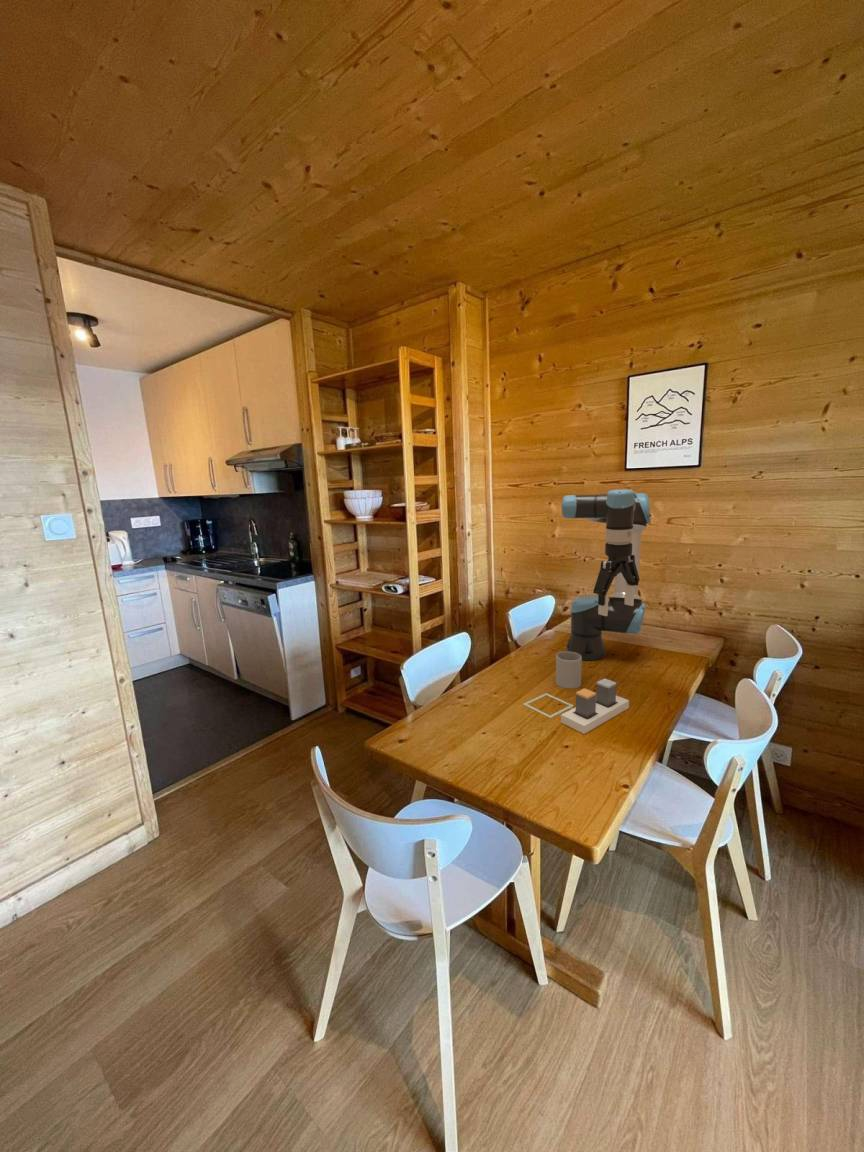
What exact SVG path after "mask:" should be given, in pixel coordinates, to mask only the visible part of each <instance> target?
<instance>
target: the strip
mask: <svg viewBox="0 0 864 1152" xmlns="http://www.w3.org/2000/svg"><path fill="white" fill-rule="evenodd" d="M629 708H630V699H629V700H628V699H626V698H624V697H622V696H620V695H619V696H618V695H617V694H616V704H615V705H613V706H611V707H609V708H607V707H605V706H602V705H600V704H598V703H596V715H595V716H593V717H592V718H590V719H588V720H587V719H585V718H583V717H581V716H578V715H576V714H575V710H576V706H575V707H574V708H573V707H572V708H570V710H569V709H568V710H566V712H565V711H564V712H562V713H561V714H560V723H561V724H563V725H564V726H566V727H569V728H571V729H573V730H575V731H577V732H579V733H581V734H583V735H585V734H587V733H589V732H590V731H592V730H594V729H596V728H597V727H600V726H601V725H602V724H605V723H606V722H607V721H610V720H611V719H612V718H614V717H616V716H618V715H620V714H622V713H623V712H625V711H626V710H629Z"/></svg>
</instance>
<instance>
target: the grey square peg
mask: <svg viewBox="0 0 864 1152" xmlns="http://www.w3.org/2000/svg"><path fill="white" fill-rule="evenodd" d="M595 690H596V692H595V693H596V703H598V704H600V705H602V706H605V707H607V708H609V707H611V706H613V705H615V704H616V695H617V682H615V681H613V680H611V679H608V678H606V677H604V678H603V679H600V680H598V681H596V689H595Z"/></svg>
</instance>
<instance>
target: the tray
mask: <svg viewBox="0 0 864 1152" xmlns="http://www.w3.org/2000/svg"><path fill="white" fill-rule="evenodd" d="M546 696H547V697H549V698H552V699H553V700H556V701H558V702H560V703H562V704H565V705H567V706H566V707H564V708H562V709H560V710H558V711H557V712H554V713H553V714H551V715H549V714H548V713H546V712H544V711H542V710H539V709H538V708H535V707H534V706H531V705H530V704H532V703H533V702H535V701H538V700H540V699H542V698H544V697H546ZM522 705H523V706H525V707H527V708H529V709H531V710H533V711H534V712H536V713H539V714H541V715H543V716H545V717H547V718H548V719H552V718H554V717H556V716H558V715H561V714H563V713H565V711H566V712H567V711H569V709H570V710H571V709H573V707H574V705H573V704H572V703H569V702H567V701H564V700H562V699H561V698H558V697H556V696H554V695H551V694H549V693H546V692H545V693H543V694H541V695H540V696H537V697H535V698H532V699H531V700H529V701H527V702H525V703H523V704H522Z"/></svg>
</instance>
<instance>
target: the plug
mask: <svg viewBox="0 0 864 1152" xmlns="http://www.w3.org/2000/svg"><path fill="white" fill-rule="evenodd" d="M575 707H576V710H575V714H576V715H578V716H581V717H583V718H585V719H587V720H588V719H590V718H592V717H593V716H595V715H596V692H594V691H592V690H590V689H587V688H585V687H584V688H582V689H580V690H578V691H576V692H575Z"/></svg>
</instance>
